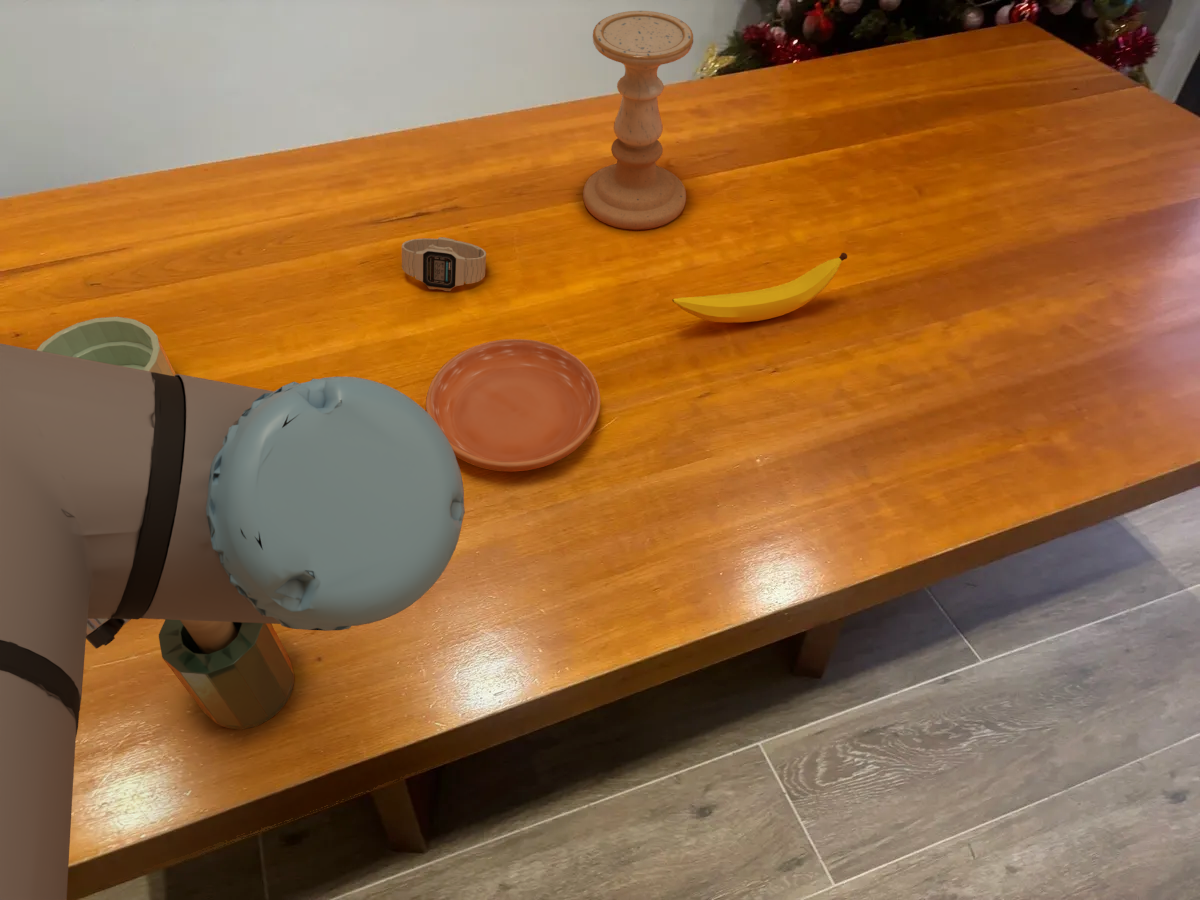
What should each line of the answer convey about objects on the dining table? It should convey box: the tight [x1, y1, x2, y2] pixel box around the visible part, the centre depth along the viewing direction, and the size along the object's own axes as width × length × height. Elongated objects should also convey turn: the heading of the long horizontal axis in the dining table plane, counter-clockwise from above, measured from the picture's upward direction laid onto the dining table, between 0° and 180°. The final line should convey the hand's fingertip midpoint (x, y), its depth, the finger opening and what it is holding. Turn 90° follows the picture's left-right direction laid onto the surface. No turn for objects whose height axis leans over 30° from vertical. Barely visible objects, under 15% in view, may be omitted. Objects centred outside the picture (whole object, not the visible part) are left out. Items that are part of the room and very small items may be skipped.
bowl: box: [36, 316, 177, 376], centre depth 83 cm, size 11×11×6 cm
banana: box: [671, 252, 848, 323], centre depth 92 cm, size 3×19×6 cm, turn 108°
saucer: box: [425, 338, 601, 472], centre depth 84 cm, size 16×16×3 cm
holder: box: [158, 619, 295, 730], centre depth 64 cm, size 7×7×9 cm
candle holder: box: [582, 10, 694, 231], centre depth 100 cm, size 12×12×20 cm
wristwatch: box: [401, 236, 487, 292], centre depth 97 cm, size 9×6×5 cm
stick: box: [180, 620, 239, 654], centre depth 57 cm, size 3×3×24 cm
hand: (142, 546), depth 57 cm, fingers closed on stick, 2 cm apart
